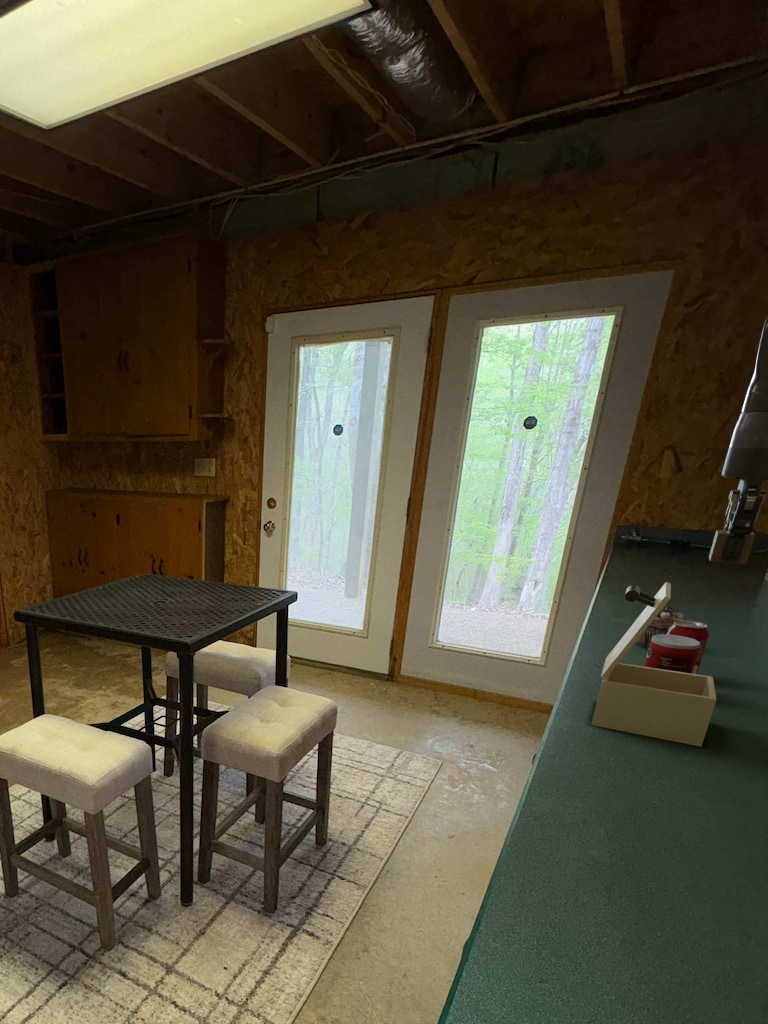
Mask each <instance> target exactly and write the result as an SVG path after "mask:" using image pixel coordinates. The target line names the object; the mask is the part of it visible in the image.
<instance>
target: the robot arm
mask: <svg viewBox="0 0 768 1024" xmlns="http://www.w3.org/2000/svg"><path fill="white" fill-rule="evenodd" d="M759 340H760V341H759V345H758V350H757V355H756V361H755V367H754V372H753V374H752V377H751V380H750V383H749V385H748V387H747V391H746V394H745V398H744V401H743V405H742V407H741V408H742V409H741V413H740V415H739V417H738V420H737V422H736V424H735V427H734V429H733V432H732V436H731V439H730V442H729V447H728V450H727V454H726V457H725V460H724V464H723V468H722V471H721V476H722V477H723V478H724V479H725V478H726V479H738V480H739V479H740V480H739V483H738V485H737V488H736V489H731V490H730V493H729V495H728V505H727V507H726V511H725V519H726V520H725V521H724V523H723V525H724V527H723V530H728V531H727V533H726V534H727V539H726V542H725V546H724V549H723V552H722V556H721V560H722V561H724V562H723V563H727V562H738V561H739V560H740V556H741V553H742V550H743V547H744V543H745V540H746V538H748V535H750V533H752V532H754V529H753V527H754V524H755V522H756V521H757V520H758V518H759V515H760V510H761V506H762V504H763V503H764V502H765V500H766V497H767V493H768V491H766V490H762V489H763V485H764V482H765V481H766V480H768V315H766V318H765V321H764V324H763V328H762V332H761V336H760V339H759Z"/></svg>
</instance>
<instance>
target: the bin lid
mask: <svg viewBox="0 0 768 1024" xmlns="http://www.w3.org/2000/svg"><path fill="white" fill-rule="evenodd" d="M671 593H672V584H671V583H670V582H668V581H665V583H663V585H662V586H661V588H659V590H658V592H656V594H655V595H654V596H651V595H649V594H647V593H645V592H642V591H641V587H640V586H639V585H637V584H631V585H629V586H628V587H627V588H626V590H625V594H624V599H625V600H626V601H627V602H629V603H633V602H636V601H637V602H638V603H639V602H640V603H642V604H644V605H646V607H645V608H644V609H643V610H642V612H641V613H640V614H639V616H638V617H637V618H636V619H635V621H634V622H633V623H632V625H630V627H629V628H628V630H627V631H626V632H625V633H624V635H623V636H622V637H621V638H620V639H619V641H618V642H617V643H616V645H615V646H614V647H613V648H612V650H611V651H610V652H609V654H608V655H607V656H606V657H605V661H604V664H603V668H602V672H601V675H600V678H601V679H602V680H603V679H604V680H605V679H606V678H607V677H608V676H609V674H610V673H611V672H612V671H613V669H614V668H615V667H616V666H617V665H618V663H621V661H622V660H623V658H624V657H625V656H626V655H627V653H628V652H629V651H630V650H631V649H632V648H633V646H634V645H635V644H636V642H637V641H638V640H639V639H640V638H641V635H642V633H643V632H644V631H645V630H646V628H647V627H648V626H649V625H650V624H651V622H652V621H653V620H654V619H655V617H656V616H657V615H658V614H659V612H660V611H661V610H662V609H664V608H665V606H666V605H667V604H668V602H669V601H670V600H671V595H672V594H671Z"/></svg>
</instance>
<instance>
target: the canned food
mask: <svg viewBox="0 0 768 1024" xmlns="http://www.w3.org/2000/svg"><path fill="white" fill-rule="evenodd" d="M699 648H700V642H699V641H697V640H694V639H692V638H688V637H684V636H678V635H668V634H660V635H654V636H652V639H651V641H650V645H649V648H648V649H647V652H646V657H645V661H644V664H643V667H650V668H656V669H663V670H670V671H677V672H684V673H691V674H692V672H693V668H694V665H695V662H696V659H697V655H698V652H699Z"/></svg>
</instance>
